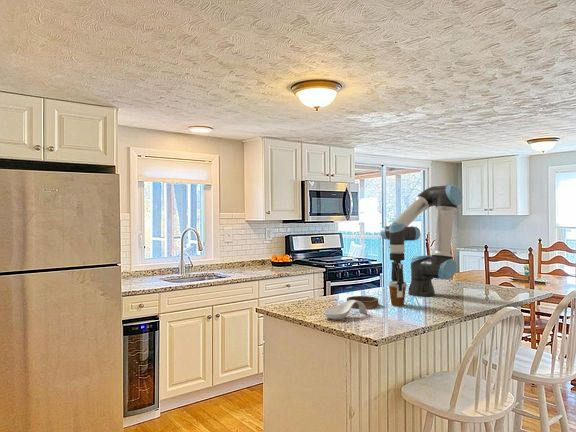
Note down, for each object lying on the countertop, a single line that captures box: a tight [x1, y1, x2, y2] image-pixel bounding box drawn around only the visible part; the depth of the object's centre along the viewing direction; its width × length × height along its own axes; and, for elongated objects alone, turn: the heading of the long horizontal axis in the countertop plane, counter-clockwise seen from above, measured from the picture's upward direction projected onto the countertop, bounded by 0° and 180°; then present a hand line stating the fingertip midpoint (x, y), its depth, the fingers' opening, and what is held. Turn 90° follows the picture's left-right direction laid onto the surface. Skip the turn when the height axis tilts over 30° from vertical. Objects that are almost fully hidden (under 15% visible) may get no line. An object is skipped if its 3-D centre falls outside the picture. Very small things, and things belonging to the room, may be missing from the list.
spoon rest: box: [322, 300, 368, 321], centre depth 204 cm, size 24×12×7 cm, turn 127°
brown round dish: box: [346, 295, 380, 310], centre depth 229 cm, size 17×17×4 cm
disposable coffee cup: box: [387, 280, 408, 307], centre depth 229 cm, size 10×10×12 cm
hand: (397, 295), depth 229 cm, fingers closed on disposable coffee cup, 9 cm apart
